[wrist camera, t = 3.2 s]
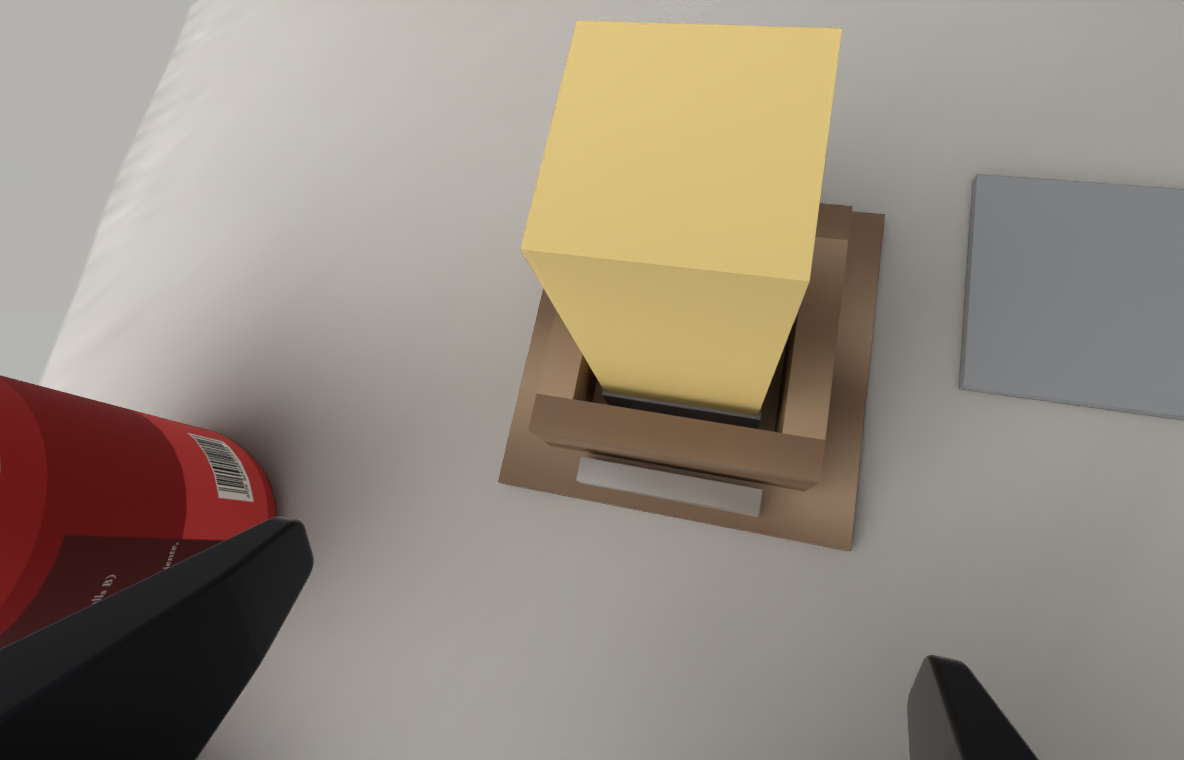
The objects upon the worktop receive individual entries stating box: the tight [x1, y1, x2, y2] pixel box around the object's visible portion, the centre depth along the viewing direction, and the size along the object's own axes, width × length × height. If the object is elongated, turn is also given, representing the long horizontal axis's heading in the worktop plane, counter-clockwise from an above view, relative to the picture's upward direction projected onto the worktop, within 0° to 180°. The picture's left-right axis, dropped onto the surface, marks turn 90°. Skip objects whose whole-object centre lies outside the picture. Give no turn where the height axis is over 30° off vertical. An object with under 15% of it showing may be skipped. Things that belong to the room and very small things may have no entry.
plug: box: [520, 21, 842, 429], centre depth 17 cm, size 5×5×12 cm
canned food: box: [0, 376, 276, 649], centre depth 20 cm, size 8×8×11 cm
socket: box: [498, 203, 885, 551], centre depth 22 cm, size 12×12×4 cm
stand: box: [959, 174, 1184, 420], centre depth 21 cm, size 8×8×1 cm
